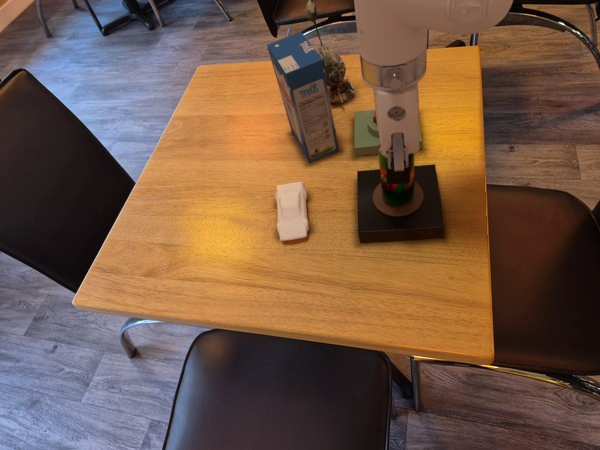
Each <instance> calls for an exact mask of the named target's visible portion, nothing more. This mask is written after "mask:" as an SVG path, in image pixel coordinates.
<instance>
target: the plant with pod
mask: <svg viewBox="0 0 600 450" xmlns="http://www.w3.org/2000/svg"><path fill="white" fill-rule="evenodd" d="M305 16H306V17H307V19H308V20H309V21H310V22H311V23H313V25H314V28H315V31H316V34H317V36H318V39H319V42H320V47H319V48H317V49H316V52H317V53H318V54H319V55H320V57H321V58H322V59H323V65H324V71H325V76H326V82H327V87H328V93H329V98H330V104H331V105H333V104H340V103H341V104H343V103H344V102H346V101H349V100H351V99H353V97H354V96H355V94H356V91H355V87H354V84H352V83H351V81H350V79H349V78H347V76H346V73H347V72H346V71H347V68H346V63H345V62H344V60H343V59H342V56H340V55H339V54H338V52H336V51H335V50H334V49H333V48H332V47H331V46H330V45H323V42H322V39H321V36H320V33H319V31H318V27H317V26H318V25H317V20H318V12H317V7H316V3H315V0H307V2H306V7H305Z"/></svg>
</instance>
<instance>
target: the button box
mask: <svg viewBox="0 0 600 450" xmlns="http://www.w3.org/2000/svg"><path fill="white" fill-rule="evenodd" d="M375 111H376V110H375V109H370V110H360V111H354V112H353V122H354V123H353V127H354V128H353V129H354V130H353V132H354V136H353V137H354V139H353V140H354V141H353V142H354V153H355V157H361V156H363V157H364V156H373V155H378V145H379V143H380V137H379V132H378V125H377V124H376V123H375ZM421 131H422V130H421V123H420V122H419V151H422V149H423V138H422V132H421Z"/></svg>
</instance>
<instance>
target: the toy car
mask: <svg viewBox="0 0 600 450" xmlns="http://www.w3.org/2000/svg"><path fill="white" fill-rule="evenodd" d="M307 200H308V193H307V189H306V187H305V182H304V181H296V182H290V183H283V184H279V185H276V194H275V202H276V211H277V213H276V215H277V223H276V230H277V233H278V237H279V240H280V242H288V241H293V240H299V239H305V238H307V237H308V232H309V231H310V223H309V220H308V211H307Z"/></svg>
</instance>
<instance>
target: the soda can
mask: <svg viewBox="0 0 600 450" xmlns="http://www.w3.org/2000/svg"><path fill="white" fill-rule="evenodd" d="M403 144H404V143H403ZM391 145H393V144H391ZM415 154H416V153H410V152H409V151H408V161H410V182H409V183H404V184H391V185H389V184H387V171H386V163H388V158H387V156H386V155H384V154H383V153H382V149H381V143H379V145H378V154H377V155H378V164H379V165H378V166H379V169H380V177H381V188H382V197H383V199H384V201H385V202H387V203H388V204H390V205H393V206H402V205H405V204H407V203H409V202H410V201H411V200H412V199H413V197H414V166H415ZM403 156H404V152H403ZM391 160H394V155H393V153H391Z"/></svg>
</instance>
